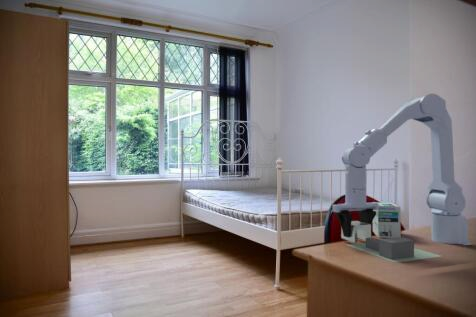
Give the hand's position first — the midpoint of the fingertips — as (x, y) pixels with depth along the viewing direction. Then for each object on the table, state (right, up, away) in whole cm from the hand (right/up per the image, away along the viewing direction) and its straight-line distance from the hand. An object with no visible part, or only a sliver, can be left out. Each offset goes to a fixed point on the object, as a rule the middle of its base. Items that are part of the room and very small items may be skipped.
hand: (355, 235), depth 102 cm
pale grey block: (0, -1, 0) cm, 1 cm away
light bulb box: (+13, -3, +11) cm, 17 cm away
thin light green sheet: (+6, -3, -9) cm, 11 cm away
